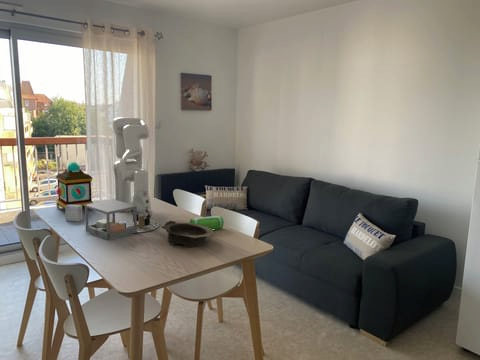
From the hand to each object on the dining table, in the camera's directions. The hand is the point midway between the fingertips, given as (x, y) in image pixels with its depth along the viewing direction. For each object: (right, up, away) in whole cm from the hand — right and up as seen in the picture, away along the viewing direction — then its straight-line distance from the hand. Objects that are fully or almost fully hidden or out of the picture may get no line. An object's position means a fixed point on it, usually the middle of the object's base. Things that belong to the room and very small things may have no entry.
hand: (141, 223), depth 200 cm
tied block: (-5, -3, -7) cm, 9 cm away
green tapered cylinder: (+36, -4, 0) cm, 36 cm away
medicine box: (-40, +1, +8) cm, 41 cm away
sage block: (-18, -3, -6) cm, 19 cm away
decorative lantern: (-50, +5, +31) cm, 59 cm away
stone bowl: (+28, -7, -19) cm, 35 cm away
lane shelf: (-13, -3, -9) cm, 16 cm away
